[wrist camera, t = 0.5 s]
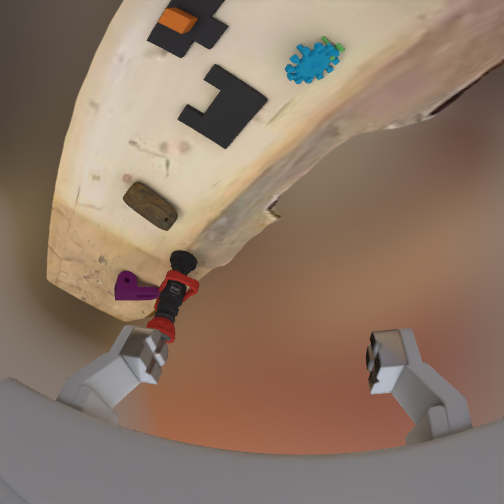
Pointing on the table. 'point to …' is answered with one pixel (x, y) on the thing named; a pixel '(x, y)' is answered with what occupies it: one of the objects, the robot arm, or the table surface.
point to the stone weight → (150, 206)
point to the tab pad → (197, 33)
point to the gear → (313, 61)
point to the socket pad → (224, 108)
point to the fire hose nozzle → (174, 294)
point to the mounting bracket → (133, 288)
